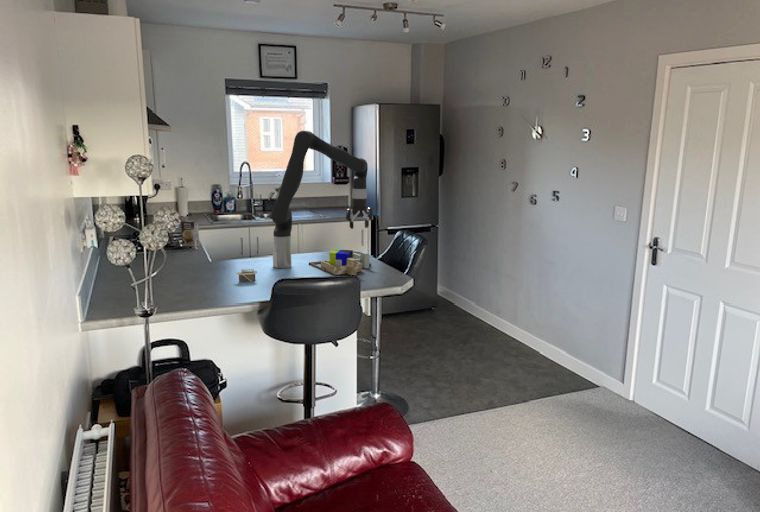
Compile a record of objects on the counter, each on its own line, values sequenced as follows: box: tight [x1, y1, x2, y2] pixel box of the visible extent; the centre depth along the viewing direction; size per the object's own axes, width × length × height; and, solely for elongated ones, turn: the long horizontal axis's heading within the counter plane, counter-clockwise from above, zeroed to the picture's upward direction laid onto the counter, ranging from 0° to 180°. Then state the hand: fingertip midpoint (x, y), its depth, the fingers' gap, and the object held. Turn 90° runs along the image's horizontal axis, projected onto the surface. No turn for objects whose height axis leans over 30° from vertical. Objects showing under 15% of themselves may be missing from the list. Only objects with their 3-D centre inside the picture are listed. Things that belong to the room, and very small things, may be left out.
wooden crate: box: [236, 268, 258, 283], centre depth 275 cm, size 12×18×7 cm, turn 108°
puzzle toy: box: [329, 249, 354, 267], centre depth 301 cm, size 10×10×10 cm
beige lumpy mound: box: [320, 258, 363, 276], centre depth 298 cm, size 16×23×8 cm
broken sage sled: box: [353, 251, 370, 269], centre depth 315 cm, size 9×22×8 cm, turn 32°
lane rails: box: [308, 260, 372, 272], centre depth 314 cm, size 29×19×1 cm, turn 122°
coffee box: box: [180, 219, 200, 247], centre depth 363 cm, size 9×6×16 cm
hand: (359, 228), depth 296 cm, fingers open, 8 cm apart
